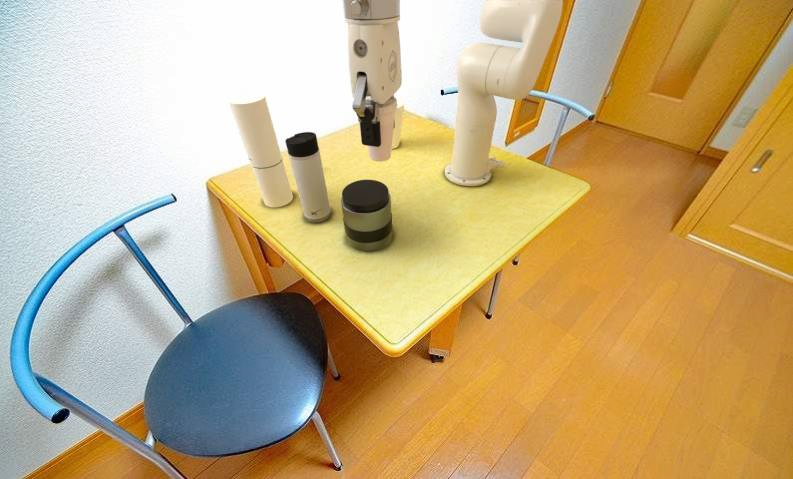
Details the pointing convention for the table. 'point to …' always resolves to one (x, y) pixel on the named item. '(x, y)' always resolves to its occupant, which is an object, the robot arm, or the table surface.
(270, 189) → the cylindrical container
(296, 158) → the travel mug
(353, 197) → the jar
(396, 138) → the foam cup
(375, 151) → the smoothie
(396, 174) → the table surface
